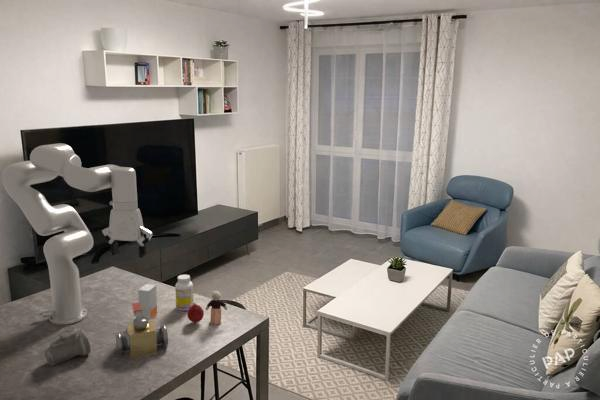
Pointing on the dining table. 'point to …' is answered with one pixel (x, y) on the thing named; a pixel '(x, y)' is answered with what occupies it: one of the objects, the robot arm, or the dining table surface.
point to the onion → (195, 313)
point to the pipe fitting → (67, 346)
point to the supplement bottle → (184, 293)
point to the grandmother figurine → (216, 308)
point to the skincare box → (148, 300)
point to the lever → (139, 317)
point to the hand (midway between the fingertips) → (128, 255)
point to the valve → (141, 340)
